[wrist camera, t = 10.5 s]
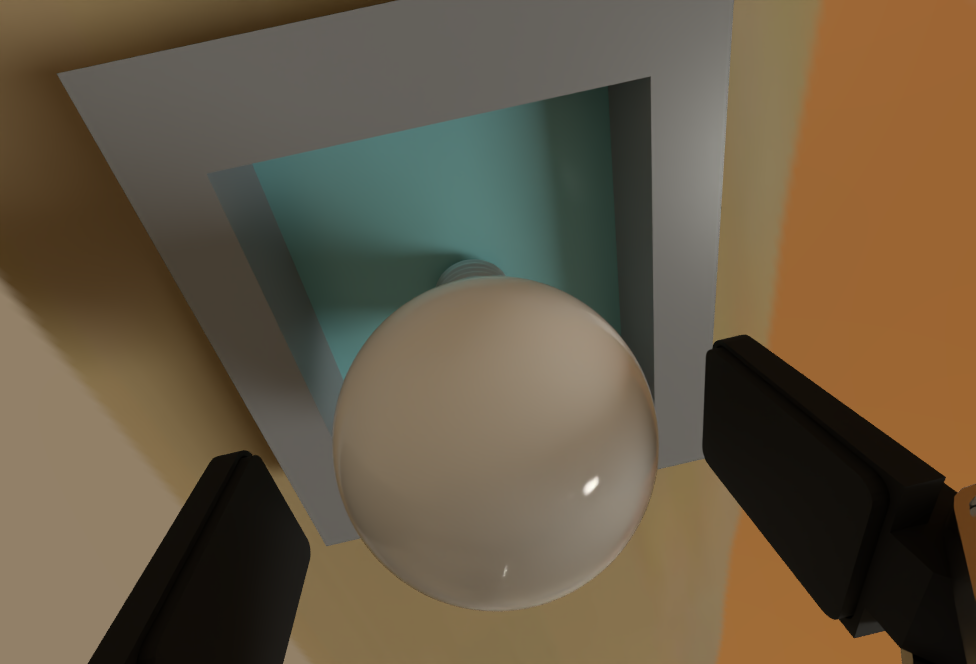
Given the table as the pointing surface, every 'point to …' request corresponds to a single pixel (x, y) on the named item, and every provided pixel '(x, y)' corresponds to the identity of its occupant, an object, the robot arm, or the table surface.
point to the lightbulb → (495, 441)
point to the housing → (428, 187)
